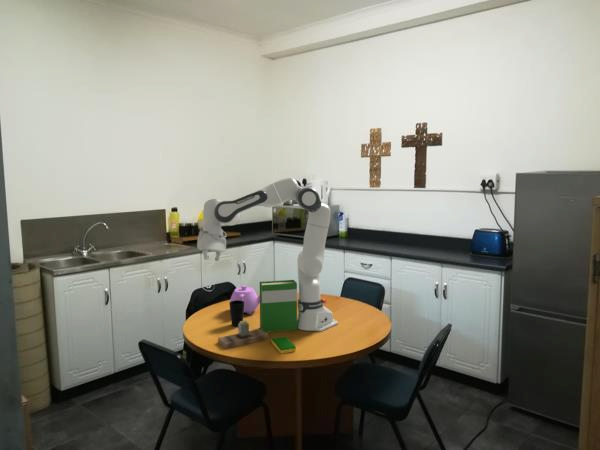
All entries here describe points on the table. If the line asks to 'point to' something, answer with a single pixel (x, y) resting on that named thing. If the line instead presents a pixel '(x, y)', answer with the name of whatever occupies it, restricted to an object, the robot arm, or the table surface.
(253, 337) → the brown flat board
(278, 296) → the hardback book
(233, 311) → the cup
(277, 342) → the dish sponge
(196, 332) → the table surface
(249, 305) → the teapot
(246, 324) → the lever cap
